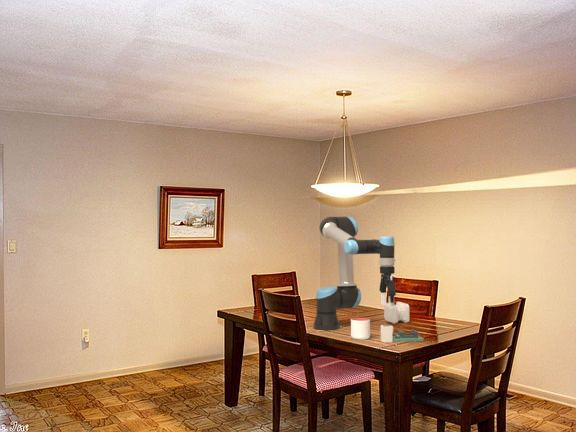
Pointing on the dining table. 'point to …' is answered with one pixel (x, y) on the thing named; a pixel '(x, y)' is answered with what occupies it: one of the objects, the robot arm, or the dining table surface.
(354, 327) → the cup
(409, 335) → the board
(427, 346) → the dining table surface
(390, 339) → the plug
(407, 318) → the cable organizer
